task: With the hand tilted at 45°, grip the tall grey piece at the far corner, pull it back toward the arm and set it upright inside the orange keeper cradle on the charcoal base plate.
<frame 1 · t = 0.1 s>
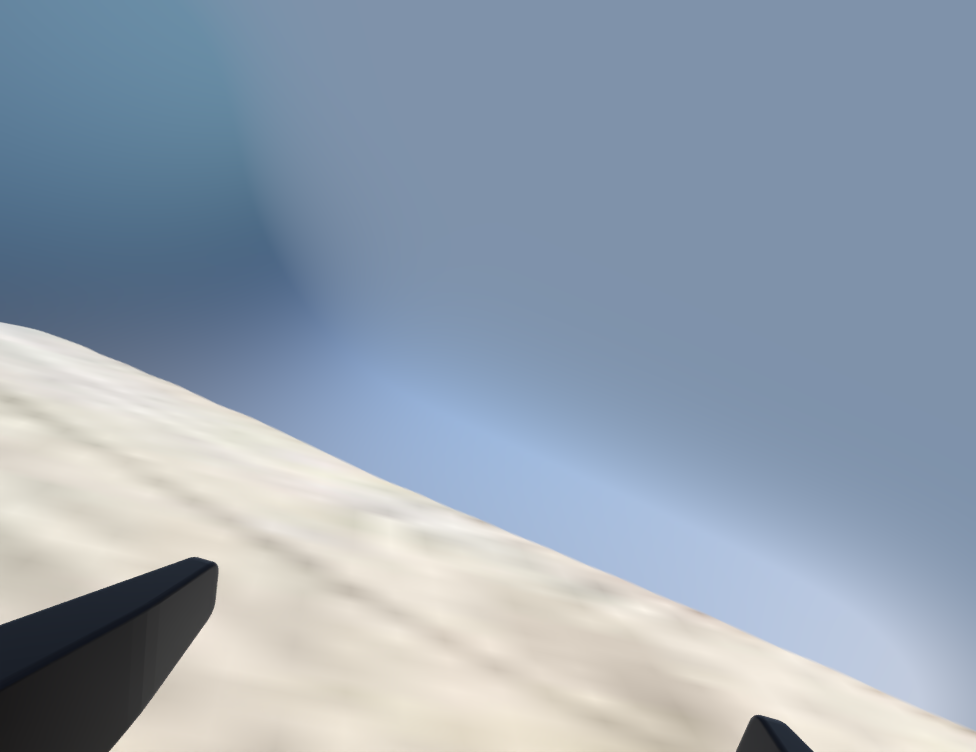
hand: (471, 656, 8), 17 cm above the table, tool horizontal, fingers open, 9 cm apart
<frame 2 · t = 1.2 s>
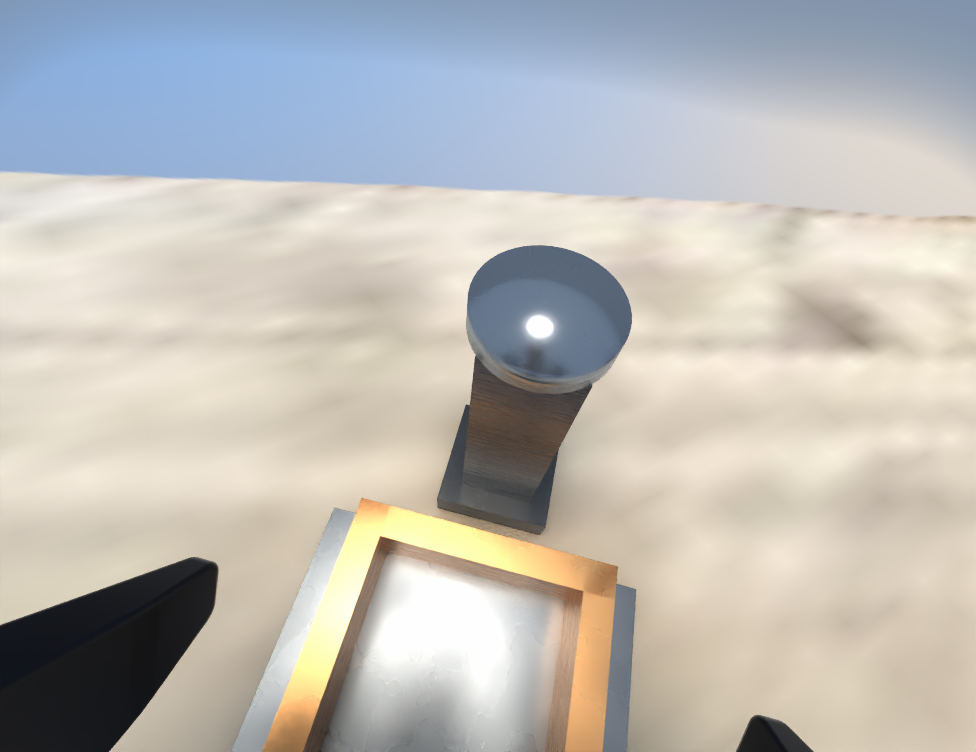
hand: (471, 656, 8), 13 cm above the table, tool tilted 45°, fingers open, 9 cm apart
grey piece: (499, 472, 23), on the table
keeper cradle: (450, 682, 18), on the table
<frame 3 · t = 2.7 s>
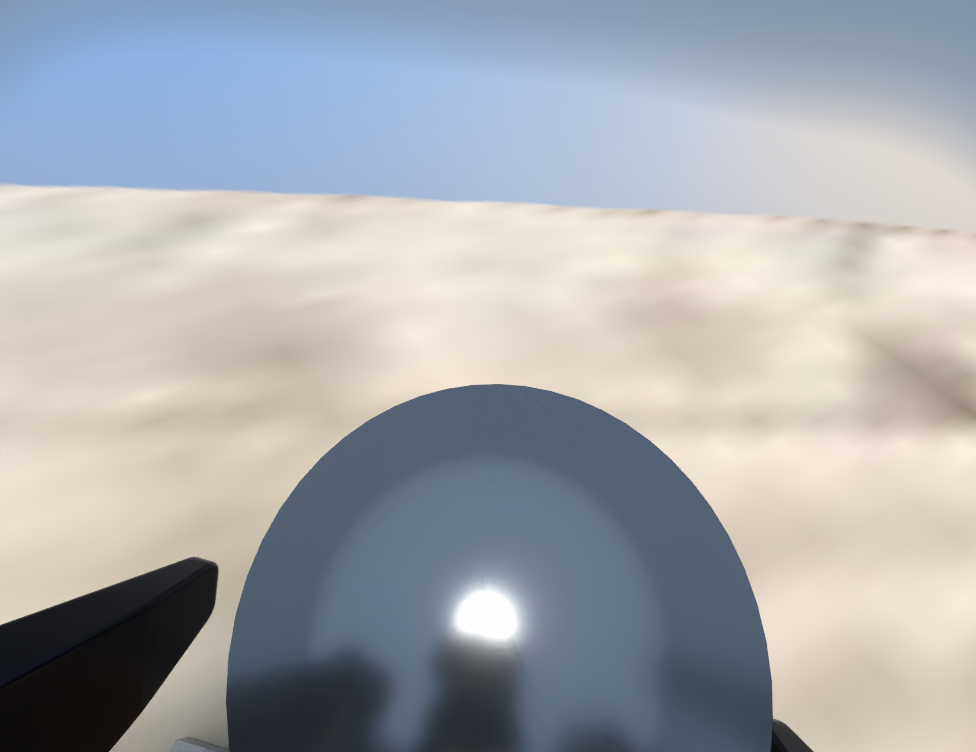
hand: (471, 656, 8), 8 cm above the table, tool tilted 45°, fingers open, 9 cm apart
grey piece: (459, 650, 15), on the table
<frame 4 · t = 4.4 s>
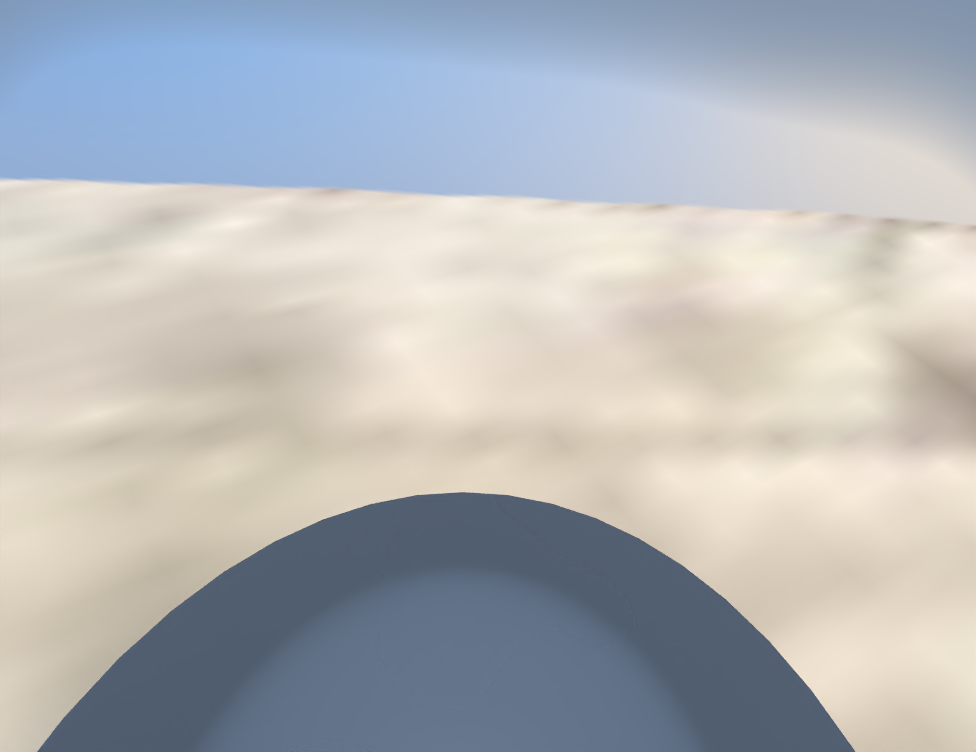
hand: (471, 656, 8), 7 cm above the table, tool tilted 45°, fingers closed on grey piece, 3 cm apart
grey piece: (446, 715, 13), on the table, touching gripper
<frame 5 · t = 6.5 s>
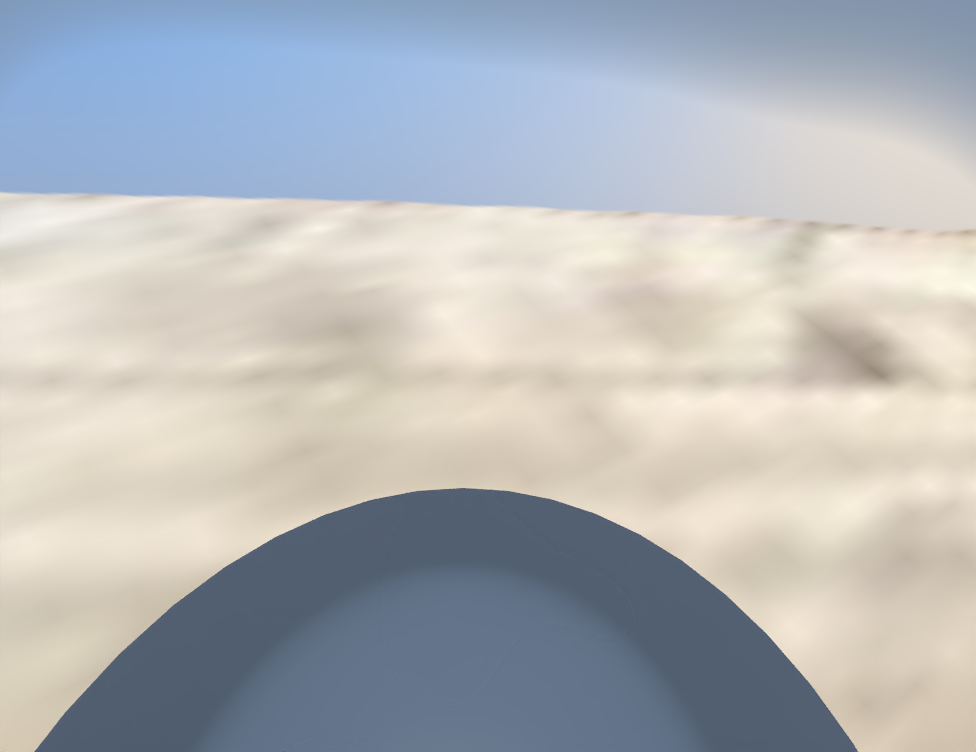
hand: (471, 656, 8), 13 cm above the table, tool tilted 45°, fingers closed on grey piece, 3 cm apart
grey piece: (446, 714, 13), point 6 cm above the table, touching gripper
when the fingers open (9 cm above the table, at t = 8.6 s): grey piece drops 2 cm, resting on keeper cradle.
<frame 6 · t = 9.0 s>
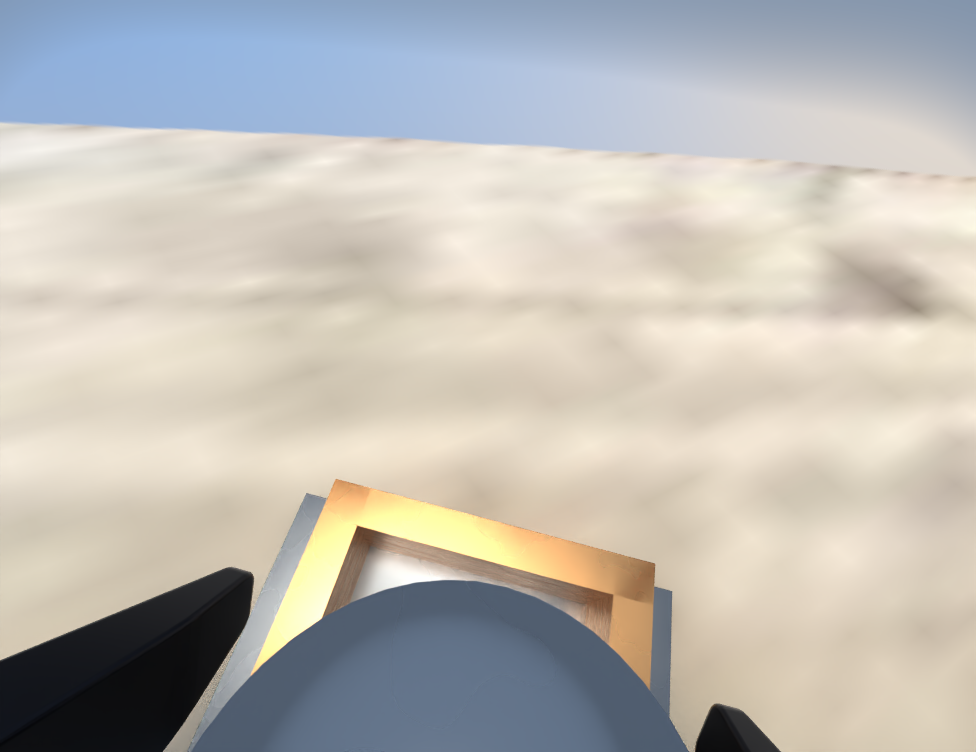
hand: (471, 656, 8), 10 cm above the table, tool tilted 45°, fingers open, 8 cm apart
grey piece: (443, 717, 14), point 1 cm above the table, touching keeper cradle
keeper cradle: (445, 707, 15), on the table
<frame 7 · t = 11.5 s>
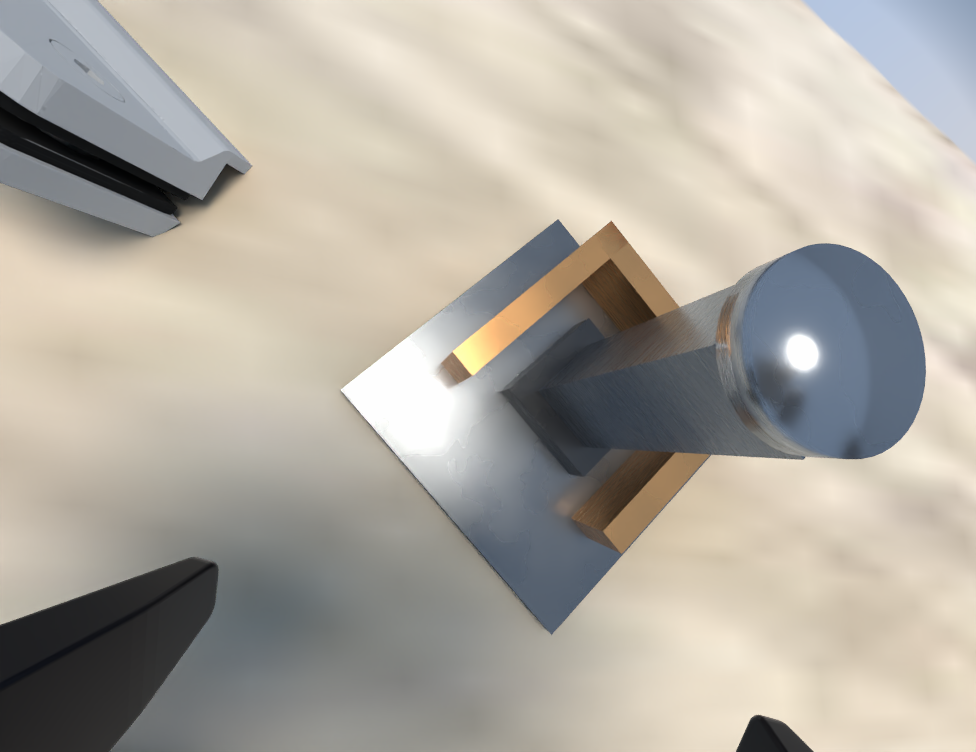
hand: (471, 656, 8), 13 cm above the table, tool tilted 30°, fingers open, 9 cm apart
grey piece: (571, 398, 22), point 1 cm above the table, touching keeper cradle
keeper cradle: (570, 396, 22), on the table
hinge: (35, 73, 19), on the table
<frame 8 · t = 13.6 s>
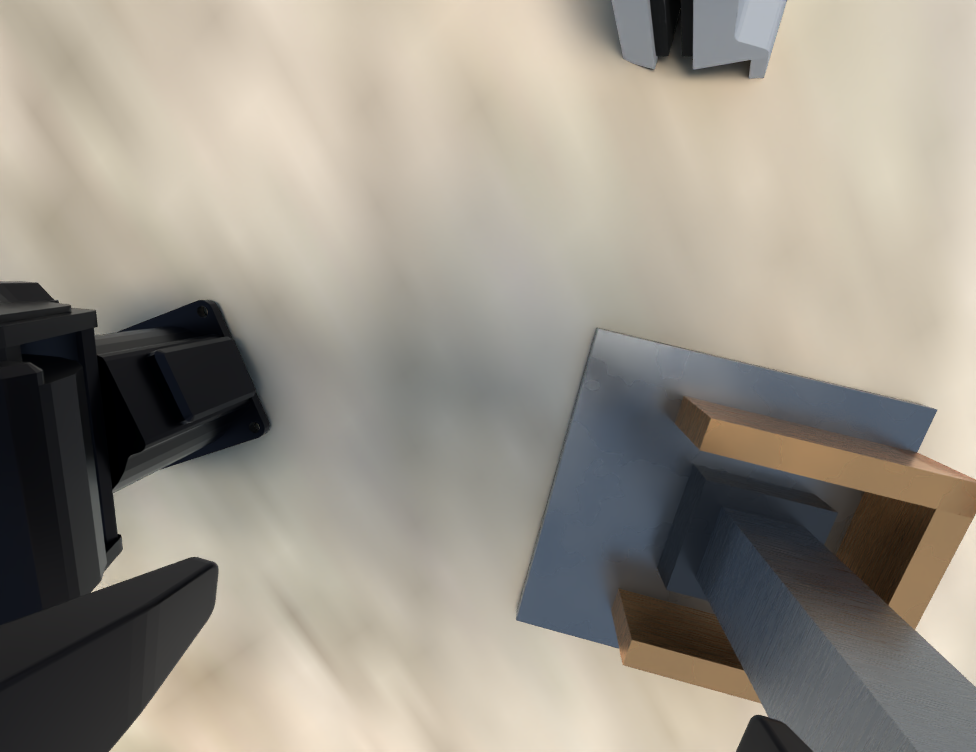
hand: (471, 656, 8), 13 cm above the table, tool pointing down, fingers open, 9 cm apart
grey piece: (733, 532, 20), point 1 cm above the table, touching keeper cradle
keeper cradle: (732, 526, 20), on the table
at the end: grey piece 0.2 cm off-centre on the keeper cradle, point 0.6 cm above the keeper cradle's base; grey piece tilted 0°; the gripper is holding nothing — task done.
